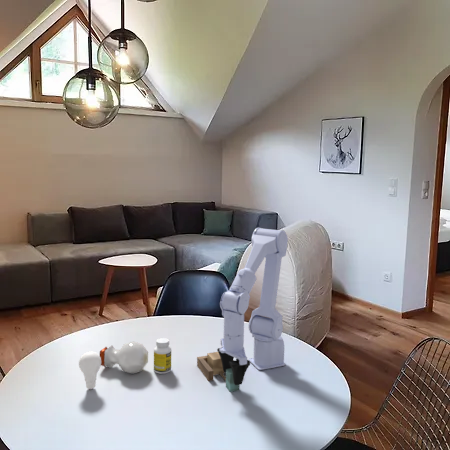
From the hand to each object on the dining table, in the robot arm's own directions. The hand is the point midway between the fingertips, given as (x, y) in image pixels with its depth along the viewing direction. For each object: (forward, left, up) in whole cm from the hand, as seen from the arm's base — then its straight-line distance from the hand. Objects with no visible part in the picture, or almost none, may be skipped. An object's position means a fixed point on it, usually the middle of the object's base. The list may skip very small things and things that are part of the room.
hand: (232, 378), depth 131 cm
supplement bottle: (+16, -18, -3) cm, 24 cm away
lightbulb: (+38, -14, -3) cm, 41 cm away
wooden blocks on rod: (0, -7, -3) cm, 7 cm away
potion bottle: (+27, -22, -4) cm, 35 cm away
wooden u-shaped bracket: (0, -11, -3) cm, 12 cm away
